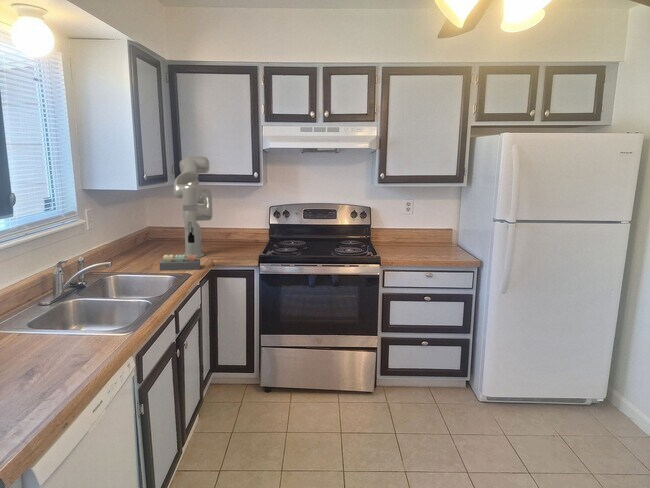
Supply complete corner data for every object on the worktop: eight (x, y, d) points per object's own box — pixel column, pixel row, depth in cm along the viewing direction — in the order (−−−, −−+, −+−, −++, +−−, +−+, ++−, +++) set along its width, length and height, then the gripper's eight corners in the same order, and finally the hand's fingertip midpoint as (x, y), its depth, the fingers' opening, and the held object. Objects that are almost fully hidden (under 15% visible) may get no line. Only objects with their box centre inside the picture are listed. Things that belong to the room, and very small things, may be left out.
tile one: (163, 265, 226) (163, 256, 225) (164, 263, 231) (164, 254, 230) (172, 265, 227) (172, 256, 226) (174, 263, 232) (173, 254, 231)
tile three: (186, 265, 229) (186, 255, 228) (187, 263, 233) (187, 254, 233) (196, 265, 230) (195, 255, 229) (196, 263, 234) (196, 253, 234)
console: (159, 270, 224) (159, 263, 223) (162, 266, 233) (162, 259, 232) (199, 269, 229) (198, 262, 228) (200, 265, 237) (200, 258, 237)
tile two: (175, 265, 227) (174, 256, 227) (176, 263, 232) (175, 254, 231) (184, 265, 229) (184, 255, 228) (185, 263, 233) (185, 254, 232)
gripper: (184, 207, 233) (185, 240, 235) (181, 209, 218) (182, 244, 221) (198, 207, 234) (199, 240, 237) (196, 209, 220) (197, 244, 223)
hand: (191, 242), depth 229 cm, fingers closed
